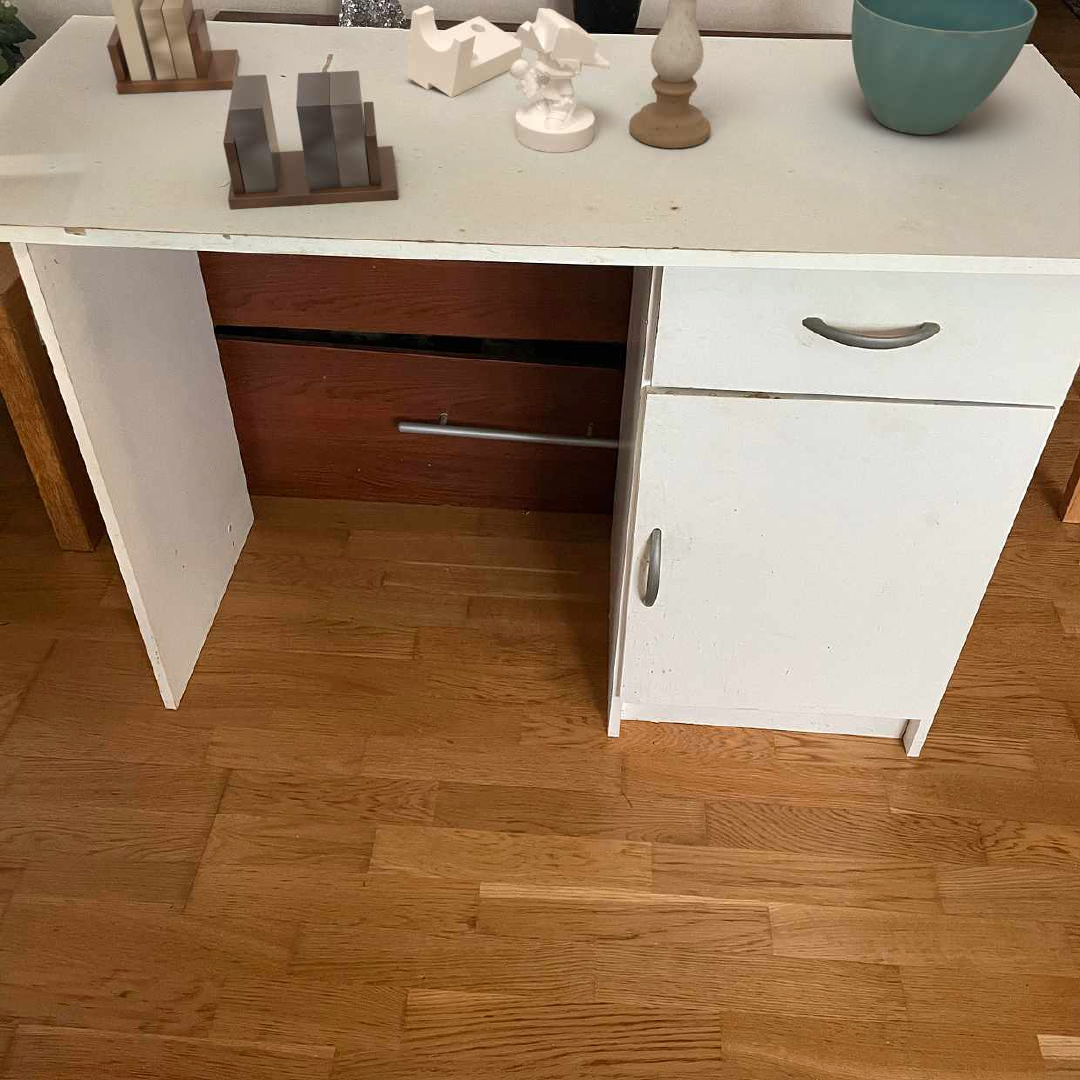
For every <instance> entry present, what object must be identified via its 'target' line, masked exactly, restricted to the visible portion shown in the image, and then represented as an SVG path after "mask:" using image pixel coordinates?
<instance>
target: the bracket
mask: <svg viewBox="0 0 1080 1080" xmlns="http://www.w3.org/2000/svg"><path fill="white" fill-rule="evenodd" d="M411 12H412V13H411V20H410V28H409V36H408V44H407V53H406V60H405V61H406V62H405V69H404V76H405V77H407V78H409V79H410V80H412V81H413V82H415V83H416V84H417V85H419V86H421V87H422V88H423V89H425V90H430V89H432V88H434V87H435V88H436V89H438V90H439V91H441V92H442V93H444V94H445V95H447V96H448V97H450V98H453V97H455V96H458V95H460V94H462V93H464V92H466V91H469V90H470V89H472V88H475V87H477V86H479V85H480V84H481V85H482V84H483V83H485V82H487V81H489V80H491V79H493V78H495V77H497V76H499V75H501V74H503V73H505V72H508V71H511V67H512V65H513V63H514V62H515V61H517V60H520V59H522V56H523V51H524V47H520V46H521V43H522V41H521V40H519V39H518V38H514V37H515V36H512V35H510V34H509V33H508V32H506V31H504V30H502V29H501V28H499V27H498V26H496V25H494V24H493V23H491V22H490V21H488V20H486V19H485V18H483V17H482V16H480V15H478V16H476V17H474V18H471V19H468V20H466V21H463V22H461V23H459V24H457V25H455V26H452V27H450V28H447V29H445V30H443V31H440V32H439V30H438V27H437V25H436V21H435V9H434V8H433V7H432V6H430V5H429V4H427V5H425V6H422V7H419V8H417V9H415V10H412V11H411Z"/></svg>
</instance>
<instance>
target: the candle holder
mask: <svg viewBox="0 0 1080 1080" xmlns="http://www.w3.org/2000/svg"><path fill="white" fill-rule="evenodd" d="M697 4H698V0H668V4H667V11H666V15H665V19H664V22H663V24H662V27H661V28H660V30H659V32H658V34H657V36H656V38H655V39H654V42H653V45H652V48H651V52H650V61H651V65H652V68H653V69H654V71H655V73H656V74H657V75H656V76H655V77H653V79H652V81H651V87H652V89H653V90H654V94H655V96H656V100H655V101H653V102H650V103H648V104H645V105H643V106H642V108H641V109H640V111H638V112H636V113H635V114H633V115H632V117H630V119H629V132H630V134H631V136H632V137H633V138H634V139H636V140H637V141H639V142H641V143H643V144H646V145H649V146H652V147H657V148H664V149H683V148H685V149H686V148H691V147H695V146H698V145H701V144H702V143H705V141H707V140H708V138H709V137H710V135H711V129H712V125H711V122H710V120H709V119H708V118H707V117H706V116H704V115H703V113H702V111H701V109H700V108H698V107H696V106H695V105H692V104H690V98H691V97H692V95H693V93H694V92H695V91H696V90H697V88H698V83H697V81H696V80H695V78H694V76H695V75H696V74H697V72H699V70H700V69H701V67H702V65H703V62H704V56H705V53H704V52H705V51H704V45H703V40H702V38H701V34H700V32H699V31H700V30H699V28H698V23H697Z"/></svg>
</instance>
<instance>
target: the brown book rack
mask: <svg viewBox="0 0 1080 1080" xmlns="http://www.w3.org/2000/svg"><path fill="white" fill-rule="evenodd" d="M140 12H141V16H142V20H143V24H144V28H145V32H146V36H147V40H148V44H149V48H150V52H151V56H152V60H153V64H154V68H155V70H154V73H153V76H152V79H151V80H143V81H132V80H131V76H130V72H129V69H128V65H127V61H126V57H125V53H124V50H123V46H122V42H121V38H120V35H119V31H118V27H117V23H116V22H115V25H114V28H113V30H112V32H111V35H110V37H109V39H108V42H107V44H106V48H107V51H108V55H109V58H110V59H109V60H110V62H111V65H112V66H111V67H112V69H113V73H114V77H115V81H116V83H115V88H116V92H117V94H118V95H127V94H128V95H129V94H151V93H152V94H153V93H173V92H174V93H175V92H195V91H216V90H217V91H219V90H232V88H233V82H234V76H237V74H238V73H237V72H238V66H239V61H240V56H239V50H238V49H214V50H213V49H212V44H211V39H210V38H211V37H210V35H209V29H208V26H207V25H208V24H207V20H206V15H205V14H206V13H205V10H204V8H194V3H193V0H143V2H142V5H141V8H140Z"/></svg>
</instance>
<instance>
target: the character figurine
mask: <svg viewBox="0 0 1080 1080" xmlns="http://www.w3.org/2000/svg"><path fill="white" fill-rule="evenodd" d="M513 37H514V38H515V39H517V40H519V41H521V46H520V47H523V49H528V50H531V51H535V52H537V57H538V58H537V59H536V61H534V67H533V68H531V69H530V65H529V62H528V61H527V60H526V59H523V58H521V59H520V60H517V61H515V62H514V63H513V65H512V67H511V69H510V74H511V77H512V78H514V79H516V80H520V81H519V82H517V83H516V84H515V85H514V86H515V88H516V89H517V91H521V92H522V94H523V95H524V97H525V98H526V99H529V98H531V97H533V96H534V95H535V94H537V93H538V92H539V91H540V90H541V89H542V86H544V87H543V89H542V90H541V93H540V94H541V96H542V98H541V99H537V100H536V101H533V102H531V103H528V104H525V105H524V106H522V107H520V108H519V109H518V110H517V111H516V113H515V117H514V118H515V120H514V121H515V125H514V126H515V132H514V133H515V138H516V140H517V141H518V142H519V143H520V144H521V145H523V146H525V147H527V148H529V149H532V150H535V151H539V152H546V153H568V152H569V153H570V152H574V151H579V150H581V149H583V148H586V147H587V146H589V145H590V144H591V143H592V142H593V141H594V138H595V137H594V136H595V120H596V119H595V114H594V113H593V112H592V111H591V110H590V109H589V108H588V107H586V106H583V105H581V104H578V103H576V100H575V99H574V98H573V97H575V95H576V94H575V88H574V85H573V81H572V79H573V78H575V77H578V76H579V77H581V72H582V67H583V66H587V67H592V68H599V69H607V70H609V69H610V66H611V64H610V63H609V62H608V60H606V59H605V58H604V57H603V56H602V55H600V54H599V53H598V52H597V47H598V41H597V39H596V38H594V37H593V36H592V35H591V34H590V33H588V32H587V31H586V30H585V29H583V27H581V26H580V25H579V24H578V23H576V22H575V21H572V20H570V19H569V18H567V17H565V16H564V15H562V14H561V13H559V12H558V11H556V10H555V9H551V8H543V7H539V8H538V9H537V13H536V18H535V21H534V22H533V23H531V22H530V21H529V20H526V21H525V22H524V23H522V24H521V25H519V26H518V28H517V30H516V33H515V35H514V36H513ZM540 74H541V75H540Z"/></svg>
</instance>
